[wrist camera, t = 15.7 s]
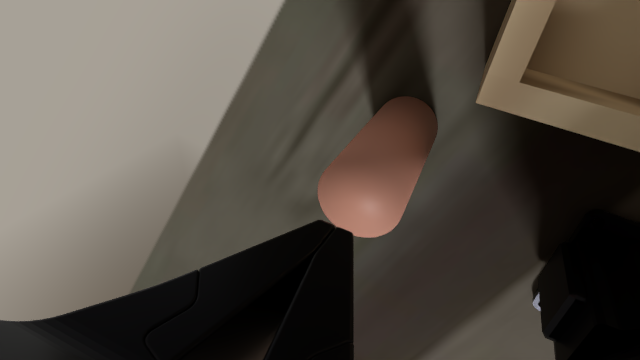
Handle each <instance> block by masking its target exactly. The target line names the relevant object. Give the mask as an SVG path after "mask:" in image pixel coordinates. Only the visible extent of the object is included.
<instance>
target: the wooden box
mask: <svg viewBox="0 0 640 360" xmlns="http://www.w3.org/2000/svg"><path fill="white" fill-rule="evenodd" d="M476 103H478V104H481V105H485V106H488V107H491V108H495V109H498V110H501V111H505V112H508V113H511V114H515V115H518V116H521V117H525V118H528V119H531V120H535V121H538V122H541V123H545V124H548V125H551V126H555V127H558V128H561V129H565V130H568V131H571V132H575V133H578V134H581V135H585V136H588V137H591V138H595V139H598V140H601V141H605V142H608V143H611V144H615V145H618V146H621V147H625V148H628V149H631V150H635V151H638V152H640V0H511V2H510V5H509V7H508V10H507V13H506V15H505V18H504V20H503V23H502V25H501V28H500V30H499V33H498V35H497V38H496V40H495V43H494V45H493V48H492V50H491V53H490V56H489V58H488V61H487V63H486V66H485V69H484V73H483V77H482V81H481V84H480V88H479V92H478V96H477V99H476Z"/></svg>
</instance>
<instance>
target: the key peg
mask: <svg viewBox="0 0 640 360" xmlns="http://www.w3.org/2000/svg"><path fill="white" fill-rule="evenodd" d="M437 130H438V124H437V119H436V116H435V114H434V112H433V111H432V109H431V108H430V107H429V106H428V105H427V104H426V103H425V102H423V101H421V100H419V99H417V98H414V97H409V96H402V97H396V98H394V99H391V100H390V101H388V102H387V103H385V104H384V105H383V106H382V107H381V108H380V110H379V111H378V112H377V113H376V114H375V115H374V116H373V117H372V119H371V120H370V121H369V122H368V123H367V124H366V125H365V126H364V127H363V129H362V130H361V131H360V132H359V133H358V134H357V135H356V136H355V137H354V139H353V140H352V141H351V142H350V143H349V144H348V145H347V146H346V147H345V149H344V150H343V151H342V152H341V153H340V154H339V155H338V156H337V157H336V159H335V160H334V161H333V162H332V163H331V164H330V165H329V166H328V168H327V169H326V170H325V171H324V172H323V174H322V176H321V178H320V180H319V184H318V198H319V202H320V205H321V208H322V210H323V212H324V213H325V215H326V216H327V217H328V219H329V220H330V221H331V222H332V223H333V224H334V225H335V226H337V227H340V228H343V229H345V230H348V231H350V232H352V233H353V235H354V236H358V237H366V238H370V237H378V236H381V235H384V234H386V233H388V232H389V231H391V230H392V229H393V228H394V227H396V225H397V224H398V223H399V221H400V219H401V217H402V215H403V213H404V210H405V208H406V206H407V203H408V201H409V199H410V196H411V194H412V192H413V189H414V187H415V185H416V182H417V180H418V178H419V175H420V173H421V171H422V168H423V166H424V164H425V161H426V159H427V157H428V154H429V152H430V150H431V147H432V145H433V143H434V140H435V138H436V135H437Z"/></svg>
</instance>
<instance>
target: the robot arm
mask: <svg viewBox="0 0 640 360" xmlns="http://www.w3.org/2000/svg"><path fill="white" fill-rule="evenodd" d="M594 219H602V220H603V221H602V222H601V223H598V224H595V223H593V222H592V221H593V220H594ZM538 285H539V288H538V289H537V291H536V292H535V294H534V295H533V305H534V307H535V308H536V309H537V310H539V311H541V323H542V332H543V334H544V336H545V338H547V339H549V340H552V341H553V342H554V351H555V360H640V223H638V222H635V221H632V220H629V219H626V218H623V217H620V216H617V215H614V214H611V213H608V212H605V211H602V210H592V211H590V212H588V213H587V214H586V215H585V217H584V218H583V220H582V221H581V223H580V224H579V226H578V227H577V229H576V231H575V232H574V234H573V235H572V237H571V238H570V240H569V241H568V242H564V243H561V244H560V245H559V246H558V248H557V249H556V251H555V252H554V254H553V256H552V257H551V259H550V260H549V262H548V263H547V265H546V267H545V268H544V270H543V271H542V273H541V274H540V276H539V278H538ZM539 301H540V302H539ZM0 360H354V345H353V233H352V232H350V231H348V230H345V229H343V228H340V227H336V228H335V226H334V225H333V224H330V223H328V222H325V221H323V220H317V221H314V222H312V223H309V224H307V225H305V226H302V227H300V228H297V229H295V230H292V231H290V232H287V233H285V234H283V235H280V236H278V237H275V238H273V239H270V240H268V241H266V242H263V243H261V244H258V245H256V246H253V247H251V248H248V249H246V250H244V251H241V252H239V253H236V254H234V255H231V256H229V257H227V258H224V259H222V260H219V261H217V262H214V263H212V264H209V265H207V266H205V267H202V268H200V269H199V271H198V270H194V271H192V272H190V273H187V274H185V275H182V276H180V277H177V278H174V279H172V280H169V281H167V282H164V283H161V284H159V285H156V286H153V287H150V288H147V289H144V290H141V291H138V292H135V293H132V294H129V295H125V296H122V297H119V298H116V299H112V300H109V301H106V302H103V303H99V304H96V305H93V306H89V307H86V308H83V309H80V310H76V311H73V312H70V313H67V314H63V315H60V316H56V317H52V318H47V319H42V320H34V321H19V322H18V321H3V320H0Z"/></svg>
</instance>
